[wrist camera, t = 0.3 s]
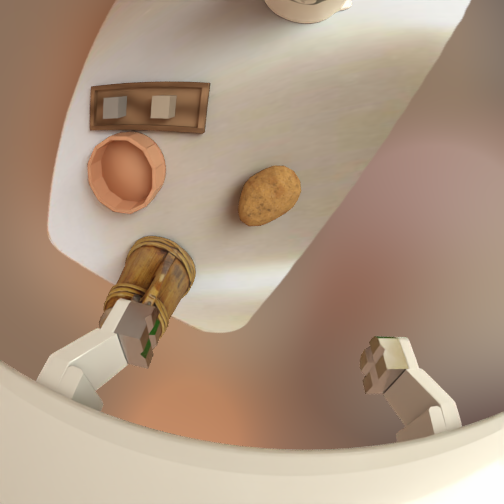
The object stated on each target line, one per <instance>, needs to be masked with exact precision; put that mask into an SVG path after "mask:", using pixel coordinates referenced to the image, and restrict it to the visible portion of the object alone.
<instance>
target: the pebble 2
mask: <svg viewBox="0 0 504 504" xmlns="http://www.w3.org/2000/svg"><path fill="white" fill-rule="evenodd" d="M176 97H177V95H156V96H152V105H151V118H163V119H169V118H172V117H175V108H176Z"/></svg>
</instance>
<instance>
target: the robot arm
mask: <svg viewBox="0 0 504 504" xmlns="http://www.w3.org/2000/svg"><path fill="white" fill-rule="evenodd" d="M264 1H265V2H266V4H267V5H268V7H269V8H270V9H271V10H272V11H273V12H274V13H276V14H277V15H279V16H281V17H282V18H285V19H287V20H290V21H293V22H298V23H316V22H320V21H323V20H325V19H327V18H329V17H331V16H332V15H333V14H334V13H336V12H337V11H341V10H346V9H349V8H350V7H351V5H352V0H264ZM158 315H159V312H158V308H157V307H154V306H150V305H146V304H142V303H138V302H134V301H130V300H126V299H122V298H120V299H119V300H117V301H116V303H115V305H114V306H113V308H112V310H111V312H110V313H109V315H108V317H107V318H106V320H105V322H104V324H103V325H102V327H101V329H99V328H96V329H95V330H93V331H92V332H89V333H88V334H86V335H84V336H82V337H81V338H79V339H77V340H76V341H74V342H72V343H70V344H69V345H67V346H65V347H63V348H62V349H60V350H58V351H56V352H55V353H53V354H51V355H50V357H49V358H48V360H47V362H46V364H45V366H44V367H43V369H42V371H41V373H40V375H39V377H38V378H37V380H36V381H34V380H32V379H30V378H29V377H27V376H25V375H23V374H22V373H20V372H18V371H17V370H15V369H14V368H12V367H10V366H9V365H7V364H6V363H4V362H2V361H1V360H0V504H504V412H501V413H499V414H496V415H494V416H492V417H489V418H487V419H484V420H481V421H478V422H475V423H473V424H469V425H466V426H463V427H462V424H461V420H460V417H459V414H458V410H457V407H456V404H455V401H454V400H453V399H452V398H451V397H450V396H449V395H448V394H446V392H445V391H444V390H443V389H442V388H441V387H440V386H439V385H438V384H437V383H436V382H435V381H434V380H433V379H432V378H431V377H429V375H428V374H427V373H426V372H425V371H424V370H422V369H419V367H418V364H417V361H416V358H415V356H414V353H413V350H412V347H411V345H410V342H409V339H408V338H407V337H384V336H375V337H373V338H372V339H371V341H370V342H369V343H370V346H369V347H368V348H366V349H365V350H364V351H363V353H362V354H361V358H360V369H361V372H362V373H363V374H364V375H365V377H364V379H363V385H364V390H365V394H383V396H384V397H385V399H386V400H387V402H388V403H389V404H390V406H391V407H392V408H393V410H394V411H395V413H396V414H397V415H398V417H399V418H400V420H401V421H402V422H403V424H404V425H405V428H403V429H402V430H400V431H399V432H398V433H397V434H396V438H397V442H396V443H390V444H384V445H376V446H367V447H358V448H345V449H327V450H326V449H324V450H289V449H267V448H256V447H244V446H237V445H229V444H222V443H215V442H210V441H204V440H198V439H193V438H188V437H183V436H178V435H175V434H171V433H166V432H163V431H158V430H155V429H151V428H148V427H144V426H141V425H138V424H134V423H131V422H128V421H125V420H122V419H119V418H116V417H113V416H111V415H108V414H105V413H103V412H101V409H102V407H103V402H102V400H101V399H100V397H99V396H98V394H97V393H96V390H97V389H98V388H100V387H101V386H102V385H103V384H104V383H106V382H107V381H108V380H110V379H111V378H112V377H113V376H114V375H115V374H117V373H118V372H119V371H121V370H122V369H123V368H124V367H126V366H127V364H131V365H135V366H139V367H143V368H149V365H150V363H151V360H152V357H153V351H152V348H154V347H156V346H157V344H158V341H159V337H160V332H161V326H160V322H159V321H158V319H157V317H158Z"/></svg>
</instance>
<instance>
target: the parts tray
mask: <svg viewBox="0 0 504 504" xmlns="http://www.w3.org/2000/svg"><path fill="white" fill-rule="evenodd" d="M209 89H210V83H202V82H138V83H122V84H111V85H101V86H93V87H91V101H90V130H159V131H177V132H191V133H204V132H205V124H206V115H207V106H208V97H209ZM156 95H177V97H176V108H175V117H172V118H169V119H163V118H151V105H152V96H156ZM117 96H127V106H126V116H124V117H120V118H111V119H103V102H104V98H108V97H117Z"/></svg>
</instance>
